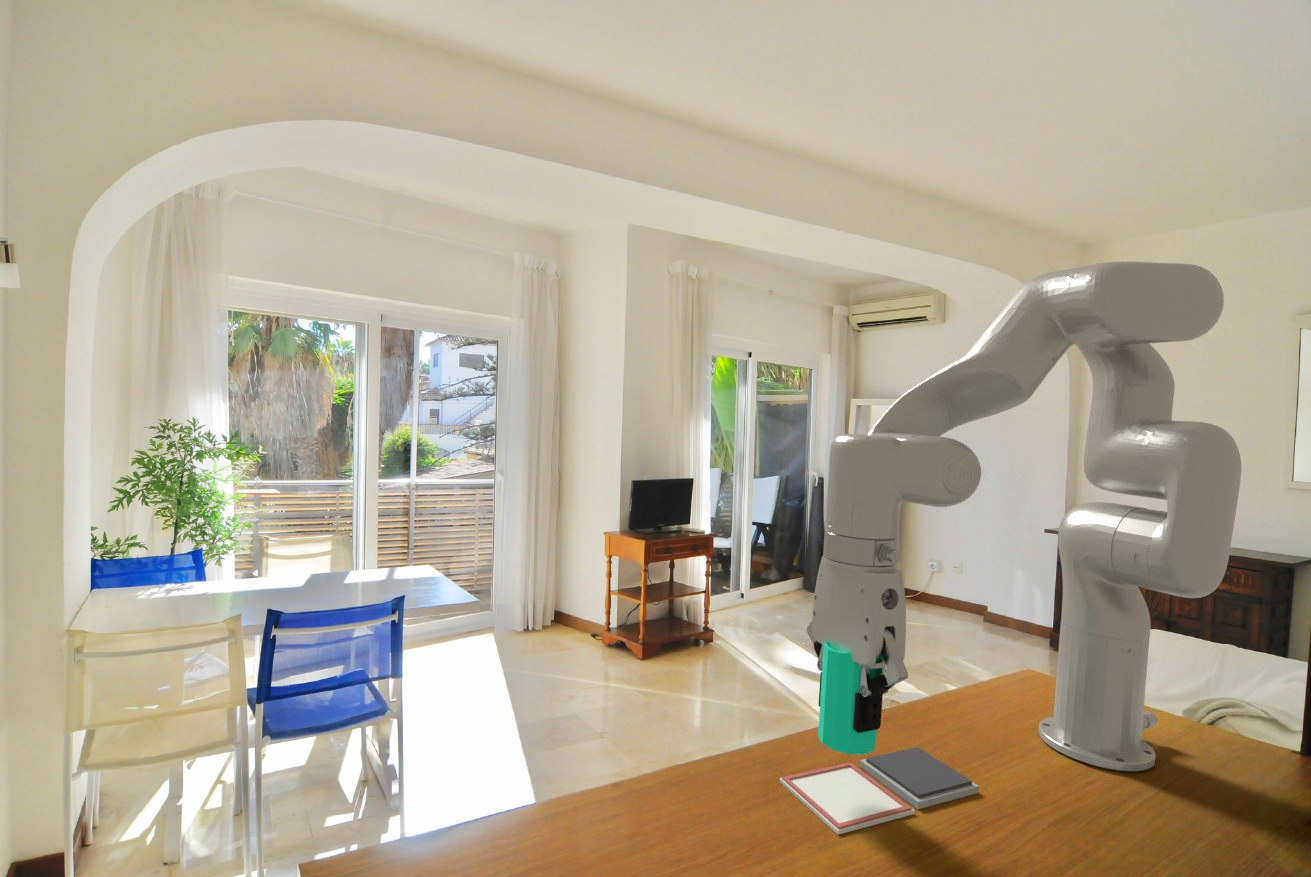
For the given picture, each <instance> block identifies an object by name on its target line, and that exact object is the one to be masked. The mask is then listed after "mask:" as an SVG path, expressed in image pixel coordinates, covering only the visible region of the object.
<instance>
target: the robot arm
mask: <svg viewBox="0 0 1311 877" xmlns="http://www.w3.org/2000/svg"><path fill="white" fill-rule="evenodd" d="M1224 298H1225V297H1224V291H1223V287H1222V286H1221V283H1220V281H1219V279H1218V278H1217V277H1216V276H1215V275H1214V274H1213V273H1212V272H1211V271H1209V270H1208V269H1207V268H1204V267H1203V266H1200V265H1197V264H1194V263H1193V264H1192V263H1176V262H1174V263H1172V262H1171V263H1169V262H1167V263H1166V262H1152V261H1151V262H1148V261H1109V262H1101V263H1096V264H1089V265H1084V266H1079V267H1072V268H1067V269H1062V270H1056V271H1051V272H1046V273H1044V274H1040V275H1037V276H1034V277H1032V278H1030V279H1029V280H1027V281H1026V282H1025V283H1023V284H1022V285H1021V286H1020V287H1019V288H1018V289H1017V290H1016V291H1015V293H1014V294H1013V295H1012V296H1011V297H1010V299H1009V300H1008V301H1007V302H1006V304H1005V305H1004V306H1003V307H1002V308H1001V309H1000V311H999V312H998V313H997V314H996V316H995V317H994V318H993V319H992V320H991V322H990V323H989V324H988V326H986V328H985V329H984V330H983V331H982V333H980V335H979V337H978V338H977V339H976V340H975V341H974V343H973V344H972V345H971V346H970V348H969V349H968V350H966V352H965V353H964V354H963V355H962V356H961V357H959V358H958V359H957V360H955V361H953V362H952V363H950V364H948V365H946V366H945V367H943V368H942V369H940V370H938V371H937V372H936V373H934V374H932V375H930V376H929V377H928V378H927V379H925V380H922V382H920V383H918V384H917V385H916V386H914V387H912V388H911V389H909V390H907V391H906V392H905V393H904V394H902V395H901V396H900V397H899V398H897V399H896V400H895V401H894V402H893V403H892V404H891V405H890V406H889V407H888V408H887V409H886V411H884V413H883V414H882V415H881V416H880V417H879V418H878V420H877V421H876V422H875V423H874V425H872V427H871V428H870V429H869V431H868V432H866V433H867V434H866V433H865V434H863V433H842V434H839V435H837V436H836V437H834V439H833V440H832V442H831V444H830V450H829V461H828V462H829V463H828V476H827V478H828V479H827V493H826V494H827V495H826V511H825V523H824V524H825V526H824V534H823V535H824V538H823V554H822V556H821V560H820V562H819V568H818V572H817V577H816V580H815V581H816V583H815V590H814V597H813V603H812V604H813V606H812V614H811V616H812V617H811V618H812V619H811V622H810V623H809V625H807V627H806V633H807V636H808V637H809V639H810V640H811V643H812V644H813V649H814V652H815V654H816V658H817V663H816V667H817V669H818V670H819V671H820V675H819V676H820V677H819V679H820V680H819V690H818V691H819V693H818V707H819V708H820V697H821V680H822V663H823V646H824V642H827V643H828V646H829V647H831V648H833V649H835V650H836V651H839V652H849V653H851V654H852V660H853V661H854V662H855V663H857V664H859V687H860V692H861V693H855V708H854V723H853V729H854V730H855V731H856V732H858V733H861V732H866V731H872V730H877V731H878V730H879V729H880V728H881V724H882V713H883V712H882V710H883V709H882V708H883V699H884V698H883V697H884V694H885V695H887V693H889V690H890V689H891V688H892V687H894V686H895V685H896V684H899V683H901V682H903V681H905V680H907V679H908V678H909V672H908V670H907V668H906V665H905V663H904V660H905V656H906V645H907V644H906V638H907V612H906V610H907V609H906V608H907V606H906V595H905V586H904V578H903V574H902V570H900V569H898V568H897V564H898V563H899V561H900V560H901V558H902V554H901V552H900V550H898V549H899V548H898V547H899V536H900V535H899V532H900V521H901V506H902V504H903V503H910V504H917V505H922V506H923V505H924V506H928V507H935V508H947V507H948V508H949V507H953V506H956V505H958V504H962V503H964V502H965V501H967V500H968V499H969V498H970V497H971V496H973V495H974V493H975V492H976V490H977V489H978V488H979V485H980V483H981V480H982V479H981V478H982V468H981V463H980V460H979V459H978V456H977V455H976V453H975V451H973V450H972V449H971V448H970V447H969V446H967V444H965V443H963V442H961V441H959V440H957V439H954V438H951V437H946V436H942V435H944V434H946V433H948V432H950V431H952V430H953V429H955V428H957V427H959V426H962V425H965V424H968V423H971V422H973V421H978V420H982V419H984V418H987V417H991V416H996V415H998V414H1000V413H1003V412H1006V411H1009V410H1010V409H1014V408H1016V407H1018V406H1021V405H1022V404H1024V403H1025V402H1027V401H1028V400H1029V399H1030V398H1031V397H1032V396H1033V394H1035V392H1036V390H1037V389H1038V388H1039V387H1040V385H1041V384H1042V383H1043V382H1044V380H1045V378H1046V377H1047V375H1048V374H1049V373H1050V372H1051V371H1052V370H1053V368H1054V367H1055V366H1056V365H1057V363H1058V362H1059V360H1060V359H1061V358H1062V357H1063V356H1064V355H1065V354H1066V352H1068V349H1070V348H1071V347H1072V346H1073V345H1075V346H1076V347H1077V349H1078V350H1079V351H1080V354H1082V356H1083V359H1085V361H1086V363H1087V366H1088V367H1089V370H1090V373H1091V378H1092V397H1091V405H1090V411H1089V419H1088V425H1087V432H1086V437H1085V438H1086V439H1085V444H1084V445H1085V446H1084V453H1083V454H1084V455H1083V472H1084V476H1085V478H1086V479H1087V481H1088V482H1089V483H1090V484H1092V485H1093V486H1094V487H1095V488H1098V489H1100V490H1103V491H1106V492H1107V491H1108V492H1112V493H1116V494H1120V495H1122V494H1123V495H1129V496H1136V497H1143V498H1148V499H1149V498H1150V499H1157V500H1158V499H1159V500H1165V501H1167V511H1162V510H1156V509H1150V508H1146V507H1140V506H1133V505H1128V504H1127V505H1126V504H1120V503H1113V502H1104V501H1103V502H1102V501H1097V502H1095V501H1092V502H1085V503H1082V504H1078V505H1076V506H1075V507H1073V508H1071V509H1070V510H1069V511H1067V512H1066V513H1065V515H1064V516H1063V518H1062V519H1061V521H1060V524H1059V526H1058V533H1057V542H1058V544H1057V545H1058V551H1059V560H1060V566H1061V574H1062V575H1061V576H1062V598H1061V599H1062V600H1061V602H1062V603H1061V617H1060V618H1061V619H1060V625H1059V626H1060V627H1059V640H1058V653H1057V666H1056V668H1057V669H1056V679H1055V680H1056V682H1055V694H1054V695H1055V696H1054V706H1053V707H1054V708H1053V716H1050V717H1047V718H1043V719H1042V720H1041V721H1040V723H1039V724H1038V734H1039V737H1040V738H1041V739H1042V740H1043V741H1044V742H1045V743H1046V745H1049V747H1051V748H1052V749H1054V750H1056V752H1060V753H1061V754H1063V755H1065V756H1067V757H1070V758H1072V759H1074V760H1077V761H1079V762H1082V763H1085V764H1088V765H1092V766H1094V767H1099V768H1103V769H1108V770H1114V771H1119V772H1142V771H1146V770H1149V769H1150V768H1153V767H1154V765H1155V761H1156V752H1155V751H1154V748H1152V746H1150V744H1149V743H1147V742H1146V741H1144V740H1143V739H1142V737H1143V732H1144V731H1145V730H1146V729H1149V728H1153V727H1156V726H1157V725H1158V724H1159V723H1158V721H1159V720H1158V718H1157V716H1156V715H1155V713H1153V712H1152V711H1149V710H1148V711H1144V710H1145V697H1146V687H1147V686H1146V685H1147V671H1148V659H1149V649H1150V637H1151V627H1152V626H1151V624H1152V622H1151V616H1150V611H1149V608H1148V606H1147V602H1146V600H1145V598H1144V595H1143V593H1142V592H1141V589H1140V588H1143V589H1146V590H1151V591H1155V592H1159V593H1163V594H1166V595H1171V596H1174V597H1180V598H1187V599H1198V598H1199V599H1200V598H1204V597H1206V596H1209V595H1210V594H1212V593H1214V591H1216V590H1217V589H1218V587H1219V586H1220V584H1221V583H1222V581H1223V579H1224V577H1225V574H1226V571H1227V567H1228V563H1229V558H1230V552H1231V547H1232V540H1233V534H1234V533H1233V532H1234V528H1235V526H1234V525H1235V522H1236V521H1235V520H1236V515H1237V514H1236V513H1237V508H1238V501H1239V500H1238V499H1239V494H1240V487H1241V481H1242V480H1241V479H1242V460H1241V454H1240V451H1239V447H1238V444H1237V443H1236V440H1235V439H1234V437H1233V436H1232V435H1231V434H1230V433H1229V432H1228V431H1227V430H1225V429H1224V428H1222V427H1221V426H1218V425H1215V424H1213V423H1209V422H1202V421H1193V420H1190V421H1187V420H1173V406H1174V396H1175V389H1176V388H1175V384H1176V383H1175V380H1174V376H1173V373H1172V371H1171V368H1170V366H1169V365H1168V363H1167V362H1166V359H1164V358H1163V356H1162V355H1161V354H1160V353H1159V352H1158V351H1157V350H1156V349H1155V348H1154V346H1153V345H1152V344H1159V343H1160V344H1161V343H1172V342H1173V343H1176V342H1187V341H1192V340H1195V339H1197V338H1200V337H1202V336H1204V335H1206V334H1207V333H1208V332H1209V331H1211V329H1212V328H1214V326H1216V324H1217V323H1218V321H1219V319H1220V317H1221V315H1222V312H1223V308H1224V304H1225V299H1224ZM876 656H879V660H878V662H876ZM872 669H877V675H876V676H875V677H874V678H873V679H872V680H870V671H869V670H872Z"/></svg>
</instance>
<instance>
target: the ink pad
mask: <svg viewBox="0 0 1311 877" xmlns="http://www.w3.org/2000/svg"><path fill="white" fill-rule="evenodd" d="M859 768H861V769H862V771H865V772H866V774H869V776H872V777H873V779H875V780H877V781H878V782H880V783H881V784H882V785H884V787H886V788H887V789H889V790H891V791H892V793H894V794H896V796H898V797H900V798H902V799H903V801H906V802H907V803H908V804H909V805H911V807H912V806H913V808H915V809H917V810H921V809H925V808H928V807H932V806H936V805H940V804H943V803H947V802H950V801H954V800H958V799H962V798H965V797H969V796H972V795H976V794H979V788H980V787H979V785H978V784H976V783H974V782H973V780H972V779H970V778H968V777H967V776H965V775H963V774H962V773H960V772H958V771H957V770H955V769H953V768H952V767H950V766H949V765H948V764H945V763H944V762H942V761H941V760H939V759H938V758H936V757H934V756H933V755H931V754H929V753H928V752H926V751H925V750H923V749H922V748H920V747H919V746H915V747H912V748H907V749H902V750H901V749H900V750H897V751H891V752H889V753H884V754H879V755H878V754H877V755H875V756H869V757H866V758H863V759H860V760H859Z"/></svg>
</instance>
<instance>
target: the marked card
mask: <svg viewBox="0 0 1311 877" xmlns="http://www.w3.org/2000/svg"><path fill="white" fill-rule="evenodd" d="M778 780H779V781H778V782H779V783H780V784H781V785H782V786H783V787H784V788H785V789H787V791H789V792H790V793H791V794H792V795H793V796H794V797H795V798H796V799H798V800H799V801H800V802H801V803H802V804H803V805H804V806H806V808H808V809H809V810H810V811H811V812H812V813H813V814H814V815H815V816H816V817H817V818H819V819H820V821H822V822H823V823H824V824H825V825H826V826H828V828H830V830H832V831H833V832H834V833H835V834H836V835H839V836H840V835H842V834H846V833H849V832H854V831H858V830H861V829H864V828H869V827H871V826H875V825H878V824H882V823H886V822H890V821H894V820H898V819H901V818H905V817H908V816H912V815H915V809H914V808H912V806H910V804H909V805H908V804H907V803H906V802H904V800H902V799H901V798H899V796H897V795H895V793H893V792H891V791H890V790H888V788H887V787H886V788H885V786H883V784H882V785H881V784H880V783H879V781H878V782H877V781H876V779H874V778H872V777H871V776H870V775H868V773H865V772H864V770H861V769H860V767H857V766H856V765H855V764H854V763H852V762H850V761H849V762H846V763H845V762H844V763H840V764H836V765H830V766H827V767H822V768H818V769H814V770H809V771H804V772H803V771H802V772H800V773H799V772H798V773H795V774H794V773H793V774H790V775H785V776H782V777H779V779H778Z"/></svg>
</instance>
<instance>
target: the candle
mask: <svg viewBox="0 0 1311 877" xmlns="http://www.w3.org/2000/svg"><path fill="white" fill-rule="evenodd" d="M878 660H879V656H876V662H878ZM869 671H870V680H872V679H873V678H874V677H875V676H876V675H877V669H872V670H869ZM821 672H822V680H821V697H820V707H819V714H818V715H819V716H818V717H819V718H818V733H817V736H818V739H819V740H820V743H821V744H822V745H824V746H826V747H827V748H829V749H831V750H832V751H836V752H839V753H842V754H846V755H856V756H857V755H860V756H861V755H863V756H864V755H867V754H870V753H872V752H874V751H875V747H876V745H877V732H878V729H877V730H872V731H866V732H861V733H858V732H856V731H855V730H854V729H853V723H854V708H855V693H861V692H860V687H859V664H857V663H855V662H854V661H853V660H852V654H851V653H849V652H839V651H836V650H835V649H833V648H831V647H829V646H828V643H827V642H824V646H823V663H822V671H821Z"/></svg>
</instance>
